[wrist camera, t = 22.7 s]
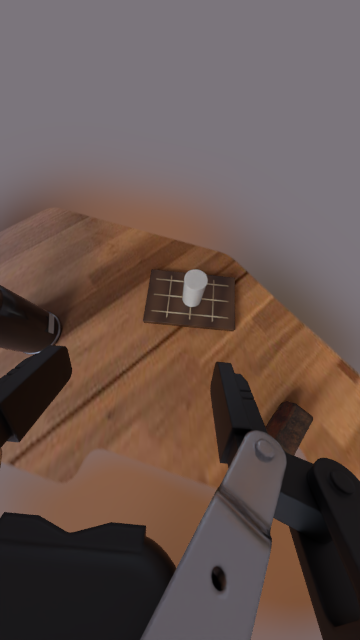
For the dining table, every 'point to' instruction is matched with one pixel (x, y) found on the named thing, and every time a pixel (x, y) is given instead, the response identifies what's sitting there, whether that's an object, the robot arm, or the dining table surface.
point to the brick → (289, 426)
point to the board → (171, 309)
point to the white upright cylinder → (194, 287)
